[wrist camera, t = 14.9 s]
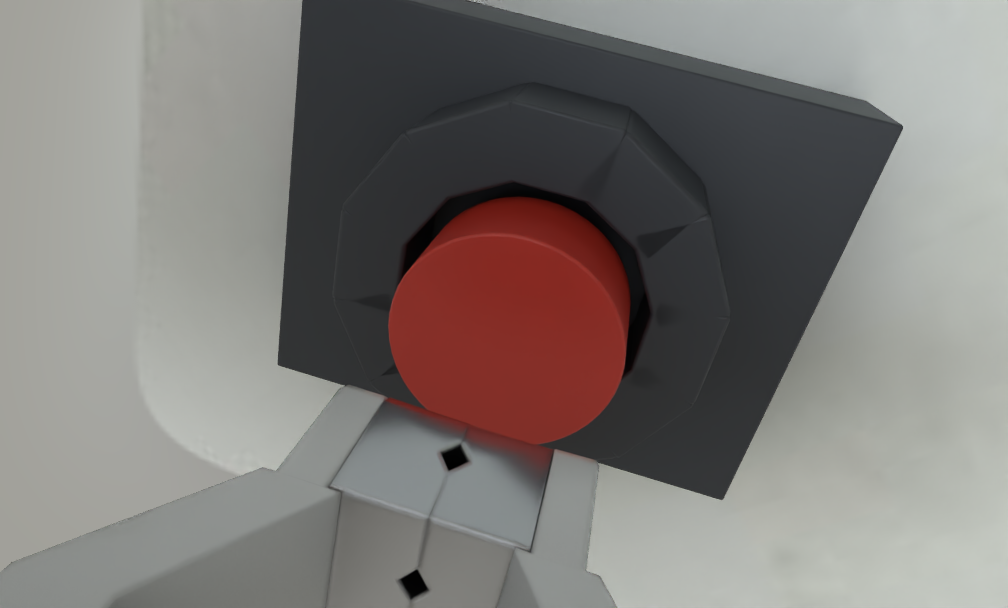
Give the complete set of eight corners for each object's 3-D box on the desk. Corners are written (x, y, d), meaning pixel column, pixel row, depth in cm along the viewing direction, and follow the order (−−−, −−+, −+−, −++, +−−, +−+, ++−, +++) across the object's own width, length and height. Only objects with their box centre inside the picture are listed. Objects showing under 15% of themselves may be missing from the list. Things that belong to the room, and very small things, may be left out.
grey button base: (319, 320, 17) (232, 411, 14) (354, -28, 14) (246, -26, 10) (715, 438, 17) (730, 567, 13) (868, 101, 13) (946, 154, 9)
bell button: (408, 355, 13) (374, 408, 11) (440, 169, 11) (404, 203, 10) (597, 411, 13) (588, 474, 11) (659, 230, 11) (658, 274, 9)
